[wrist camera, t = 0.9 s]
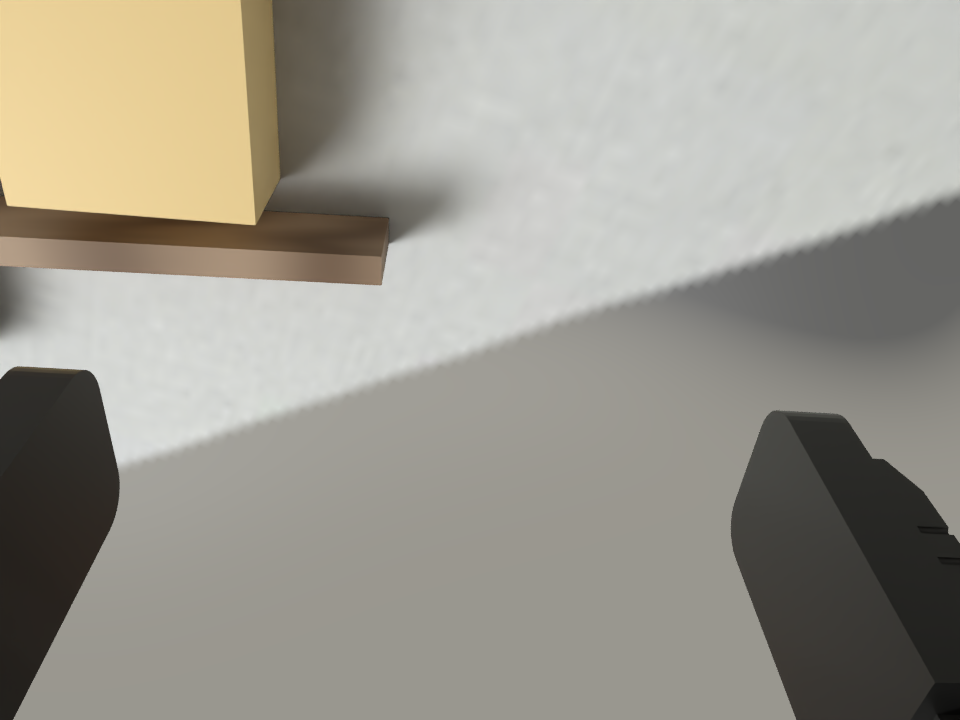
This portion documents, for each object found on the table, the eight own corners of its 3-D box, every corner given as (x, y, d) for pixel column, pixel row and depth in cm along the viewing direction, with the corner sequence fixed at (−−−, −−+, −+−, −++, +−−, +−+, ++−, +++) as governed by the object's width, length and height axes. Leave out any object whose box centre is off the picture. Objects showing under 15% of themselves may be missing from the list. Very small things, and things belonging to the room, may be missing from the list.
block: (270, -59, 22) (237, -41, 19) (282, 176, 26) (255, 225, 23) (16, -86, 22) (-63, -71, 19) (65, 158, 26) (7, 205, 23)
